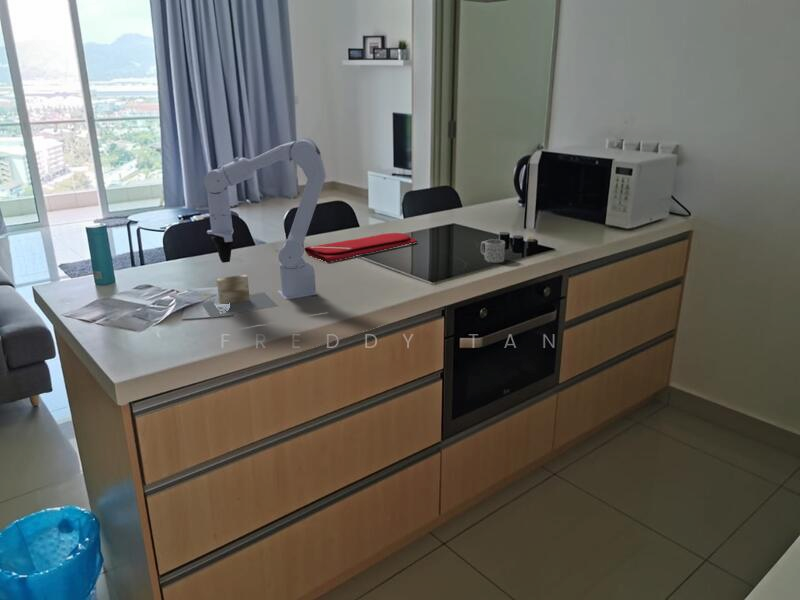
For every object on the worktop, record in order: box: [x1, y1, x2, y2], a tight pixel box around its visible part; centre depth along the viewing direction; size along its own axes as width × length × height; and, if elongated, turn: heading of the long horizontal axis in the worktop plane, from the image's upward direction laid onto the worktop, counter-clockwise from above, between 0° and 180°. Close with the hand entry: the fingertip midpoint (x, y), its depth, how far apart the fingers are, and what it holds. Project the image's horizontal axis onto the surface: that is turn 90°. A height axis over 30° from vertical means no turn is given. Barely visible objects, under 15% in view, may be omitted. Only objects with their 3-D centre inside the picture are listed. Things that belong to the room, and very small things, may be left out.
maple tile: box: [216, 274, 250, 304], centre depth 167 cm, size 8×2×7 cm, turn 118°
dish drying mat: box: [304, 232, 418, 263], centre depth 222 cm, size 16×41×4 cm, turn 129°
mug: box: [480, 238, 506, 264], centre depth 207 cm, size 10×7×7 cm, turn 37°
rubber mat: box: [201, 292, 279, 319], centre depth 166 cm, size 18×13×1 cm
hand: (225, 261), depth 170 cm, fingers closed
